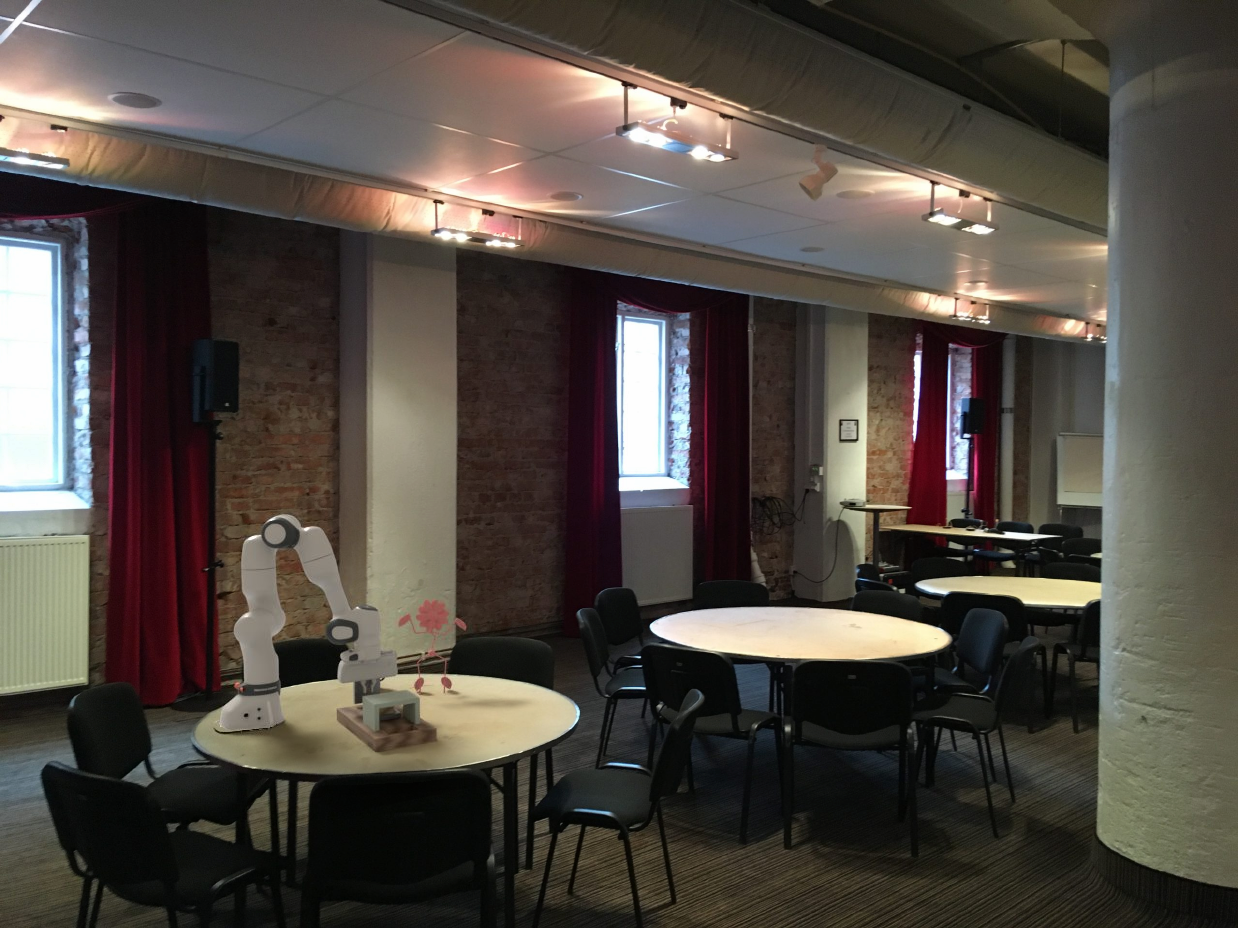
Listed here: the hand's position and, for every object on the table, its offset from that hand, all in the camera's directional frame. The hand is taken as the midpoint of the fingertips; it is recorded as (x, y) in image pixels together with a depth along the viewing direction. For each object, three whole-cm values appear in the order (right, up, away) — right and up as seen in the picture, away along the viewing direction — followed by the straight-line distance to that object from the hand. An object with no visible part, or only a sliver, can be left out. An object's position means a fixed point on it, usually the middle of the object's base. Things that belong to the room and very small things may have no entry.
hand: (368, 692), depth 334 cm
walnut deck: (+9, -9, -14) cm, 19 cm away
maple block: (+9, -5, -14) cm, 17 cm away
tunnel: (+13, -5, -19) cm, 24 cm away
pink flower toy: (+15, -8, +38) cm, 42 cm away
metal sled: (+5, -5, -7) cm, 10 cm away
